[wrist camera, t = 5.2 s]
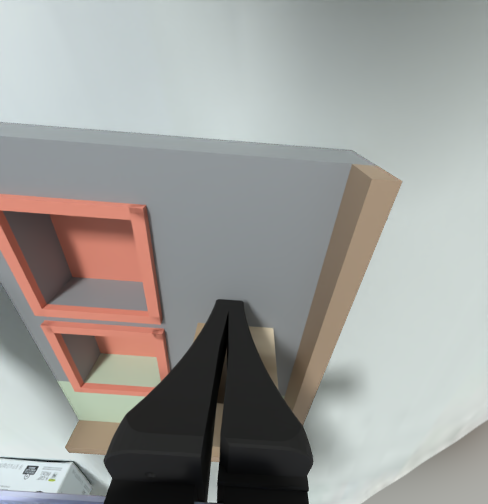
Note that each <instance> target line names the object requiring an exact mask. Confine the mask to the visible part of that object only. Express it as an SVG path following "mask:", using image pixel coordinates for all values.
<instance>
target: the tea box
mask: <svg viewBox="0 0 488 504" xmlns="http://www.w3.org/2000/svg"><path fill="white" fill-rule="evenodd" d="M91 489H92V486H91V485H90V483H89V481H88V480H87V479H86V477H85V476H84V475H83V474H82V472H81V471H80V470H79V469H78V467H77V466H76V465H75V464H74V463H73V462H65V463H57V462H39V461H27V460H16V459H5V458H0V490H14V491H30V492H46V493H63V494H79V495H89V494H90V492H91Z"/></svg>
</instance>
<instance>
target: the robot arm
mask: <svg viewBox="0 0 488 504" xmlns="http://www.w3.org/2000/svg"><path fill="white" fill-rule="evenodd" d="M226 349H227V376H226V386H225V396H224V405H223V414H222V424H221V432H220V459H219V471H218V482H217V486H218V489H217V503H208V502H207V498H208V487H209V477H210V467H211V457H212V447H213V437H214V427H215V417H216V408H217V398H218V391H219V385H220V380H221V375H222V370H223V365H224V359H225V354H226ZM104 464H105V466H106V468H107V470H108V472H109V473H110V475H111V477H112V481H111V484H110V487H109V489H108V492H107V495H106V496H95V495H79V494H63V493H46V492H30V491H14V490H0V504H309V501H308V494H307V492H308V491H309V487H308V479H307V475H308V473H309V471H310V469H311V467H312V465H313V456H312V452H311V448H310V444H309V441H308V439H307V436H306V433H305V430H304V428H303V426H302V424H301V423H300V421H299V420H298V419H297V417H296V416H295V415H294V413H293V412H292V410H291V409H290V408H289V406H288V405H287V403H286V402H285V400H284V399H283V397H282V396H281V394H280V392H279V391H278V389H277V387H276V386H275V384H274V382H273V381H272V379H271V377H270V375H269V374H268V372H267V370H266V368H265V366H264V364H263V362H262V360H261V358H260V355H259V353H258V351H257V348H256V346H255V344H254V341H253V338H252V335H251V332H250V329H249V326H248V323H247V319H246V315H245V310H244V302H243V301H240V300H225V299H218V300H216V303H215V305H214V308H213V310H212V312H211V314H210V316H209V318H208V320H207V322H206V323H205V325H204V327H203V328H202V330H201V332H200V333H199V335H198V336H197V338H196V339H195V341H194V342H193V344H192V345H191V347H190V348H189V349H188V351H187V352H186V353H185V355H184V356H183V357H182V358H181V360H180V361H179V362H178V363H177V364H176V366H175V367H174V368H173V369H172V370H171V371H170V372H169V374H168V375H167V376H166V377H165V378H164V379H163V380H162V381H161V382H160V383H159V384H158V385H157V386H156V387H155V388H154V389H153V390H152V391H151V392H150V393H149V394H148V395H147V396H146V397H145V398H144V399H142V400H141V401H140V402H139V403H138V404H137V405H136V406H134V407H133V408H132V409H131V410H130V411H129V412H128V413H127V414H126V415H125V416H124V418H123V420H122V421H121V423H120V424H119V426H118V428H117V430H116V432H115V434H114V436H113V438H112V440H111V443H110V445H109V448H108V450H107V453H106V455H105V458H104Z"/></svg>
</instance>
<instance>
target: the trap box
mask: <svg viewBox="0 0 488 504" xmlns="http://www.w3.org/2000/svg"><path fill="white" fill-rule="evenodd" d="M401 183H402V181H401V180H399V179H398V178H396V177H394V176H393V175H391V174H390V173H388V172H386V171H385V170H383V169H381V168H380V167H378V166H377V165H375V164H373V163H372V162H370V161H369V160H367V159H365V158H364V157H362V156H360V155H359V154H357V153H356V152H354V151H352V150H341V149H328V148H316V147H303V146H291V145H278V144H266V143H253V142H241V141H228V140H216V139H203V138H191V137H178V136H166V135H153V134H141V133H128V132H116V131H103V130H91V129H78V128H66V127H53V126H41V125H28V124H16V123H3V122H0V282H1V284H2V286H3V287H4V289H5V291H6V293H7V294H8V296H9V298H10V300H11V301H12V303H13V305H14V307H15V309H16V310H17V312H18V314H19V316H20V317H21V319H22V321H23V323H24V324H25V326H26V328H27V330H28V331H29V333H30V335H31V337H32V338H33V340H34V342H35V344H36V345H37V347H38V349H39V351H40V352H41V354H42V356H43V358H44V359H45V361H46V363H47V365H48V366H49V368H50V370H51V372H52V373H53V375H54V377H55V379H56V380H57V382H58V384H59V386H60V387H61V389H62V391H63V393H64V394H65V396H66V398H67V400H68V401H69V403H70V405H71V407H72V408H73V410H74V412H75V414H76V415H77V417H78V419H79V422H78V423H77V425H76V427H75V429H74V431H73V433H72V435H71V437H70V439H69V441H68V443H67V444H66V446H65V448H66V449H67V451H68V452H69V453H84V454H100V455H106V453H107V450H108V448H109V445H110V443H111V440H112V438H113V436H114V434H115V432H116V430H117V428H118V426H119V424H120V423H121V421H122V420H123V418H124V416H125V415H126V414H127V413H128V412H129V411H130V410H131V409H132V408H133V407H134V406H136V405H137V404H138V403H139V402H140V401H141V400H142V399H144V398H145V397H146V396H147V395H148V394H149V393H150V392H151V391H152V390H153V389H154V388H155V387H156V386H157V385H158V384H159V383H160V382H161V381H162V380H163V379H164V378H165V377H166V376H167V375H168V374H169V372H170V371H171V370H172V369H173V368H174V367H175V366H176V364H177V363H178V362H179V361H180V360H181V358H182V357H183V356H184V355H185V353H186V352H187V351H188V349H189V348H190V347H191V345H192V344H193V341H194V337H195V332H196V328H197V324H198V323H206V322H207V320H208V318H209V316H210V314H211V312H212V310H213V308H214V305H215V303H216V300H218V299H225V300H240V301H243V302H244V310H245V315H246V319H247V323H248V326H251V327H265V328H273V330H274V342H275V354H276V366H277V378H278V390H279V392H280V394H281V396H282V397H283V399H284V400H285V402H286V403H287V405H288V406H289V408H290V409H291V410H292V412H293V413H294V415H295V416H296V417H297V419H298V420H299V421H300V423H301V424H302V426H303V424H304V421H305V419H306V417H307V414H308V412H309V409H310V407H311V404H312V402H313V399H314V397H315V394H316V392H317V390H318V387H319V385H320V382H321V380H322V377H323V375H324V372H325V370H326V367H327V365H328V363H329V360H330V358H331V355H332V353H333V350H334V348H335V345H336V343H337V340H338V338H339V336H340V333H341V331H342V328H343V326H344V323H345V321H346V318H347V316H348V313H349V311H350V309H351V306H352V304H353V301H354V299H355V296H356V294H357V291H358V289H359V286H360V284H361V282H362V279H363V277H364V274H365V272H366V269H367V267H368V264H369V262H370V260H371V257H372V255H373V252H374V250H375V247H376V245H377V242H378V240H379V237H380V235H381V233H382V230H383V228H384V225H385V223H386V220H387V218H388V215H389V213H390V210H391V208H392V206H393V203H394V201H395V198H396V196H397V193H398V191H399V188H400V186H401ZM219 459H220V447H214V446H213V447H212V457H211V462H219Z"/></svg>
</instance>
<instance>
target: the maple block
mask: <svg viewBox="0 0 488 504" xmlns="http://www.w3.org/2000/svg"><path fill="white" fill-rule="evenodd" d="M204 325H205V323H198V324H197V328H196V332H195V337H194V341H195V339H196V338H197V336H198V335H199V333H200V332H201V330H202V328H203V327H204ZM249 329H250V332H251V335H252V338H253V341H254V344H255V346H256V348H257V351H258V353H259V355H260V358H261V360H262V362H263V364H264V366H265V368H266V370H267V372H268V374H269V375H270V377H271V379H272V381H273V382H274V384H275V386H276V387H277V389H278V378H277V366H276V354H275V342H274V330H273V328H265V327H251V326H249ZM194 341H193V342H194ZM226 376H227V349H226V354H225V359H224V365H223V370H222V375H221V380H220V385H219V391H218V398H217V408H216V417H215V427H214V437H213V446H214V447H220V432H221V424H222V414H223V405H224V396H225V386H226ZM278 391H279V390H278Z"/></svg>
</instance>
